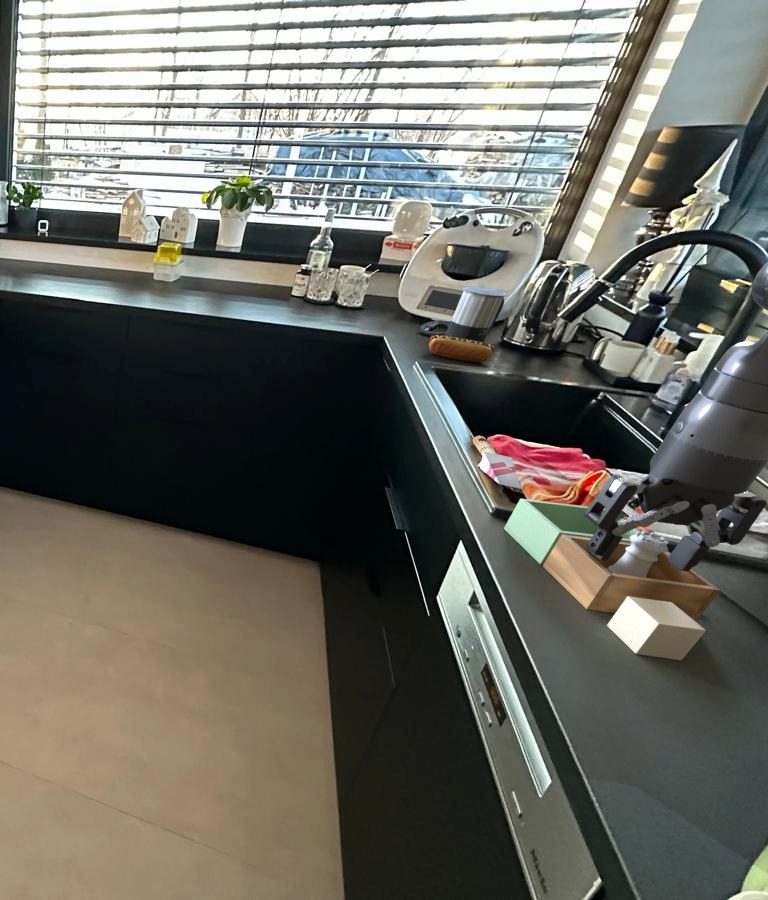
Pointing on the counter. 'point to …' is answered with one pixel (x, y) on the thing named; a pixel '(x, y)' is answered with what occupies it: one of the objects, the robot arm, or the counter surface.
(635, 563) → the rook chess piece
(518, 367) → the counter surface
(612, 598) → the oak bin
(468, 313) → the milk frother
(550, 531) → the sage bin
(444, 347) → the hot dog
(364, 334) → the counter surface
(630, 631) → the cream block
